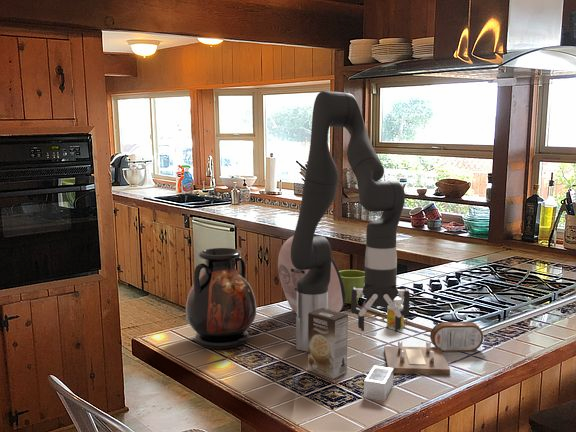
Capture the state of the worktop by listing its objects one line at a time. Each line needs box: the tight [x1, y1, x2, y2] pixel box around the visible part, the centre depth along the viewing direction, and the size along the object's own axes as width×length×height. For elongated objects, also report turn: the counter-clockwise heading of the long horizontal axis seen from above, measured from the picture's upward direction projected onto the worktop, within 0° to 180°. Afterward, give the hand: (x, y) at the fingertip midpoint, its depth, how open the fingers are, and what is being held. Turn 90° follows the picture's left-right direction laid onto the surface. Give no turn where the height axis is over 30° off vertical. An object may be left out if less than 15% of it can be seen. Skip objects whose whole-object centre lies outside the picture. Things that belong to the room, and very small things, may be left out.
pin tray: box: [383, 340, 451, 376], centre depth 162 cm, size 16×16×4 cm
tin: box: [429, 321, 484, 353], centre depth 170 cm, size 15×3×8 cm, turn 91°
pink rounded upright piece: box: [277, 235, 346, 314], centre depth 201 cm, size 22×20×30 cm
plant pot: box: [339, 269, 365, 304], centre depth 219 cm, size 12×12×11 cm
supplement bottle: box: [386, 296, 405, 330], centre depth 191 cm, size 5×5×10 cm
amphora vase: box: [185, 247, 257, 350], centre depth 179 cm, size 22×22×28 cm
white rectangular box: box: [363, 365, 395, 402], centre depth 144 cm, size 5×10×5 cm, turn 158°
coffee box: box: [307, 308, 349, 380], centre depth 155 cm, size 9×6×16 cm
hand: (379, 330), depth 142 cm, fingers open, 7 cm apart
